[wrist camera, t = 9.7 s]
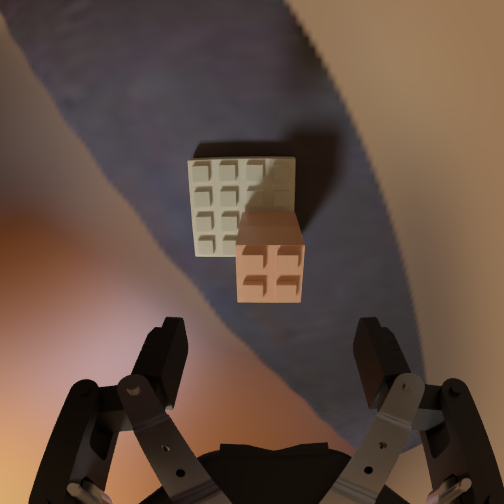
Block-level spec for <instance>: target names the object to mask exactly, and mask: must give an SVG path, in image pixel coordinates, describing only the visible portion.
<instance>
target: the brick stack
mask: <svg viewBox="0 0 504 504" xmlns="http://www.w3.org/2000/svg"><path fill="white" fill-rule="evenodd" d="M235 249H236V274H237V297H238V302H272V303H287V302H300V301H301V289H302V277H303V265H304V251H305V244H304V241H303V237H302V234H301V230H300V227H299V224H298V220H297V217H296V214H295V212H242V215H241V220H240V225H239V230H238V235H237V239H236V244H235Z"/></svg>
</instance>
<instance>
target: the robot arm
mask: <svg viewBox="0 0 504 504" xmlns="http://www.w3.org/2000/svg"><path fill="white" fill-rule="evenodd" d="M400 349H401V348H400V346H399V344H398V342H397V340H396V338H395V336H394V334H393V333H392V332H391V331H390V330H389V329H388V328H387V327H382V328H381V326H380V323H379V321H378V319H377V318H376V317H367V318H360V319H359V322H358V327H357V331H356V334H355V338H354V342H353V354H354V358H355V361H356V364H357V368H358V371H359V375H360V378H361V382H362V385H363V389H364V393H365V396H366V400H367V404H368V408H369V409H376V408H377V410H378V414H377V416H376V418H375V420H374V422H373V423H372V425H371V427H370V429H369V430H368V432H367V434H366V435H365V437H364V439H363V440H362V442H361V444H360V445H359V447H358V449H357V450H356V452H355V453H354V455H353V457H350V456H349V455H347V454H345V453H343V452H340V451H337V450H332V449H328V443H327V442H325V443H312V444H300V445H297V446H293V447H289V448H285V449H281V450H276V451H272V450H267V449H263V448H258V447H254V446H250V445H238V444H220V450H217V451H213V452H209V453H206V454H203V455H201V456H199V457H197V458H196V456H195V455H194V453H193V452H192V451H191V449H190V448H189V446H188V444H187V443H186V441H185V440H184V438H183V437H182V435H181V434H180V432H179V431H178V429H177V427H176V426H175V424H174V422H173V421H172V419H171V418H170V417H169V415H167V414H166V412H165V409H169V410H173V408H174V405H175V401H176V397H177V392H178V389H179V385H180V381H181V377H182V374H183V369H184V366H185V362H186V358H187V355H188V340H187V335H186V331H185V325H184V320H183V318H180V317H179V318H178V317H166V318H165V320H164V323H163V325H162V327H155V328H154V329H153V330H152V331H151V332H150V333H149V334H148V335H147V338H146V340H145V342H144V344H143V347H142V350H141V351H140V354H139V356H138V359H137V361H136V363H135V366H134V368H133V371H132V373H131V375H128V376H126V377H124V378H123V379H121V380H120V382H119V383H118V385H115V386H106V387H98V385H97V383H96V382H94V381H92V380H89V379H84V380H80V381H78V382H76V383H75V384H74V385H73V386H72V387H71V389H70V392H69V394H68V396H67V398H66V400H65V402H64V405H63V407H62V410H61V412H60V414H59V417H58V419H57V421H56V424H55V426H54V429H53V432H52V434H51V436H50V439H49V442H48V444H47V447H46V450H45V452H44V455H43V458H42V461H41V463H40V466H39V469H38V472H37V475H36V479H35V481H34V485H33V488H32V491H31V494H30V498H29V503H28V504H113V503H112V500H111V499H110V497H109V496H108V495H107V494H105V493H104V491H105V486H106V482H107V478H108V473H109V469H110V465H111V461H112V457H113V453H114V449H115V445H116V441H117V437H118V434H119V432H120V431H130V430H133V431H134V434H135V436H136V438H137V440H138V442H139V444H140V446H141V448H142V450H143V452H144V454H145V455H146V457H147V459H148V461H149V463H150V465H151V467H152V468H153V470H154V472H155V474H156V476H157V477H158V479H159V481H160V482H161V484H162V486H161V487H160V488H159V489H157V490H156V491H155V492H154V493H152V494H151V495H149V496H148V497H147V498H146V499H144V500H143V501H142V502H140V503H139V504H410V503H408V502H407V501H406V500H404V499H403V498H402V497H400V496H399V495H398V494H397V493H395V492H394V491H393V490H391V489H390V488H389V487H388V486H386V485H385V482H386V481H387V479H388V477H389V475H390V473H391V471H392V469H393V467H394V465H395V463H396V461H397V459H398V458H399V455H400V453H401V451H402V449H403V447H404V445H405V443H406V441H407V438H408V436H409V434H410V432H411V429H414V430H419V432H420V436H421V439H422V443H423V447H424V452H425V455H426V460H427V464H428V469H429V473H430V478H431V483H432V488H433V491H431V492H430V493H429V495H428V497H427V499H426V504H504V487H503V483H502V479H501V476H500V472H499V469H498V466H497V462H496V459H495V456H494V453H493V450H492V447H491V444H490V442H489V439H488V436H487V433H486V430H485V428H484V425H483V423H482V420H481V418H480V415H479V413H478V410H477V408H476V405H475V403H474V401H473V398H472V396H471V394H470V391H469V389H468V387H467V385H466V384H465V383H464V382H462V381H461V380H459V379H456V378H450V379H447V380H446V381H445V382H444V383H443V385H442V386H435V385H427V384H424V382H423V380H422V379H421V378H420V377H418V376H417V375H415V374H412V373H411V371H410V369H409V366H408V364H407V362H406V360H405V357H404V355H403V353H402V351H401V350H400Z"/></svg>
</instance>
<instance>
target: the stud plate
mask: <svg viewBox="0 0 504 504" xmlns="http://www.w3.org/2000/svg"><path fill="white" fill-rule="evenodd" d="M295 162H296V159H295V157H282V156H245V157H209V158H191V159H189V160H188V174H189V188H190V201H191V213H192V224H193V235H194V245H195V255H196V256H203V257H236V249H235V244H236V239H237V235H238V230H239V225H240V220H241V215H242V212H294V201H295Z"/></svg>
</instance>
